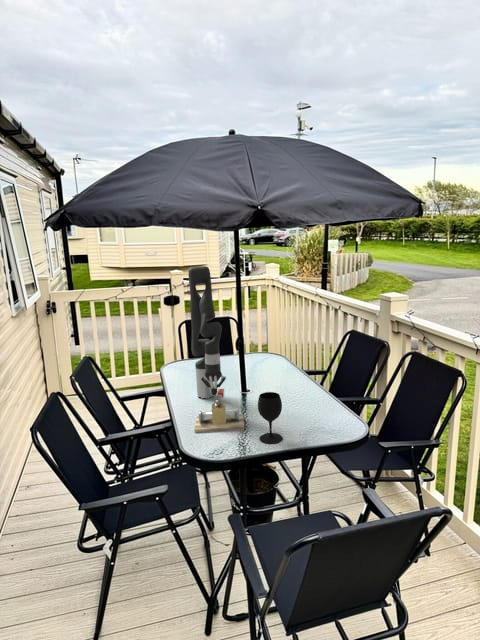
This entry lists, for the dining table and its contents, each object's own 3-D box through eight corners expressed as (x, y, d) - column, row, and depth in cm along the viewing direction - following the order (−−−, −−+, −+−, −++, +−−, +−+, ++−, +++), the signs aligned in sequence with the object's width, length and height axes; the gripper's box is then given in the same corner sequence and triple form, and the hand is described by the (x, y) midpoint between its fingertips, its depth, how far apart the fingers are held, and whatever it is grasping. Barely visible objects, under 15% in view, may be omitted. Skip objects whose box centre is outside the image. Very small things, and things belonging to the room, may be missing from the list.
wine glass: (255, 436, 191) (253, 393, 187) (276, 431, 194) (275, 389, 191) (265, 446, 181) (263, 401, 177) (287, 441, 185) (285, 397, 181)
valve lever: (221, 406, 202) (221, 401, 201) (214, 406, 202) (214, 401, 201) (224, 393, 218) (224, 388, 218) (218, 393, 218) (218, 388, 218)
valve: (200, 419, 208) (199, 404, 206) (239, 417, 208) (238, 402, 207) (199, 425, 201) (198, 409, 200) (239, 423, 202) (238, 407, 200)
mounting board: (196, 419, 212) (196, 416, 212) (243, 416, 212) (242, 414, 212) (194, 432, 197) (194, 429, 197) (244, 429, 198) (244, 426, 197)
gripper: (226, 359, 215) (228, 392, 219) (200, 360, 217) (202, 392, 220) (225, 363, 208) (226, 397, 211) (198, 364, 209) (200, 397, 212)
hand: (214, 394), depth 216 cm, fingers closed
